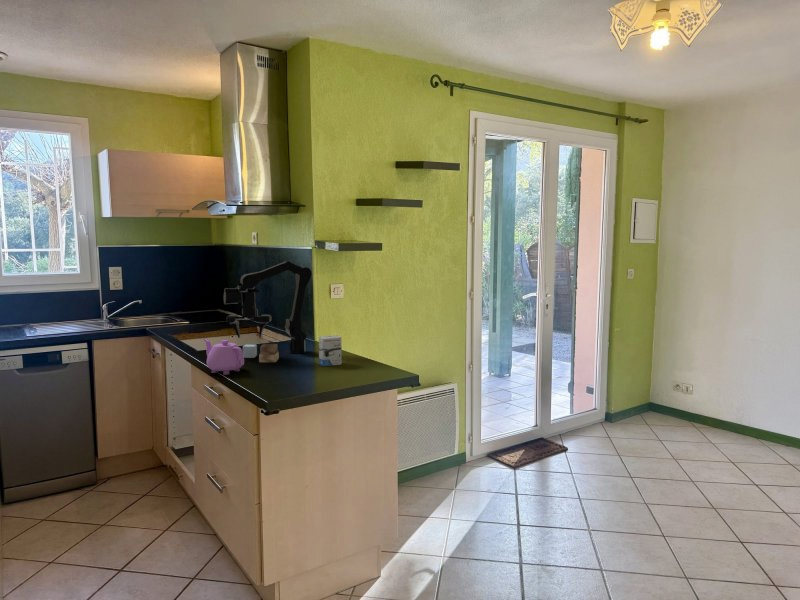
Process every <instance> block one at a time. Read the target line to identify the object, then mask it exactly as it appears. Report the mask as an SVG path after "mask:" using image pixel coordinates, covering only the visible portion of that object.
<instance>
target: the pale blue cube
mask: <svg viewBox="0 0 800 600" xmlns="http://www.w3.org/2000/svg"><path fill="white" fill-rule="evenodd" d="M257 349H258V346H257V344H244V345H243V346H242V352H243V357H244V359H245V358H246V359H255V358H256V357H257V356H258V350H257Z"/></svg>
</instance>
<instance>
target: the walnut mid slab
mask: <svg viewBox="0 0 800 600" xmlns="http://www.w3.org/2000/svg"><path fill="white" fill-rule="evenodd" d="M259 349H260V350H259V351H260V353H259V354H261V355H275V354H276V353H277V352H279V350H278V349H279V348H278V343H263V344H261V346H260V347H259Z"/></svg>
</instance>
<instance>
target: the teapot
mask: <svg viewBox="0 0 800 600" xmlns="http://www.w3.org/2000/svg"><path fill="white" fill-rule="evenodd" d="M203 342H205V344H206V356H207V357H206V367H208V368H209V370H211V372H210V373H212V374H216V373H217V374H218V373H219V372H222V375H224V376H226V375H227V376H228V375H230V373H231V372H230V371H233V372H241V368H242V367H243V366H244V365H245V358H244V357H243V348H241V347H239V345H237V344H236V343H234V342H229V339H222V340H221V341H220V342H221V343H215V344H214V345H213V346H212V343H211V341H210V340H208V339H206V338H203Z"/></svg>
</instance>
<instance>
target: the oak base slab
mask: <svg viewBox="0 0 800 600" xmlns="http://www.w3.org/2000/svg"><path fill="white" fill-rule="evenodd" d="M279 354H280V352H279V351H278V352H277V353H276V354H275V355H261V354H260V353H259V355H258V363H277V362H278V360H279V359H280V358H279V357H280V355H279Z"/></svg>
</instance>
